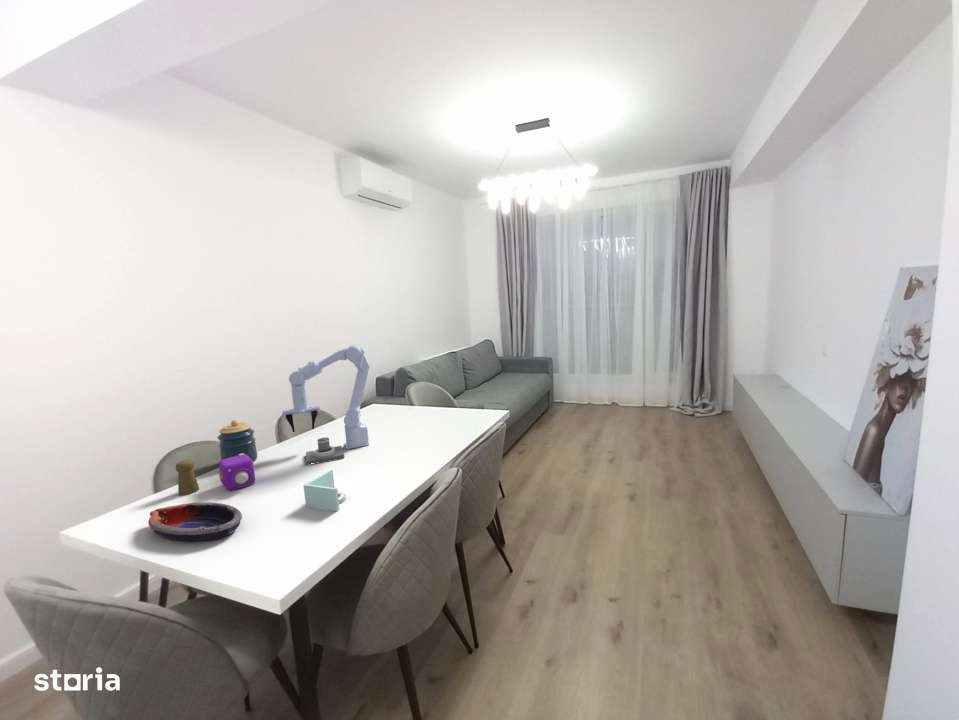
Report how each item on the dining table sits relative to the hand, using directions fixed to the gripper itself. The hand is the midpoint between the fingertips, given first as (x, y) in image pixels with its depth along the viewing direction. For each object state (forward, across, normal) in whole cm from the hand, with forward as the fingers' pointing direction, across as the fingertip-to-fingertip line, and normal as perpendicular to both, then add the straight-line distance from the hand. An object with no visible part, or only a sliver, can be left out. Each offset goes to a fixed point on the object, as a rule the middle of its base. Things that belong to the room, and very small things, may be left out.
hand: (303, 429), depth 176 cm
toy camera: (+10, -22, -26) cm, 35 cm away
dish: (+10, -30, -53) cm, 62 cm away
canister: (+10, -25, +1) cm, 27 cm away
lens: (+8, +7, -12) cm, 16 cm away
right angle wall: (+10, +7, -55) cm, 56 cm away
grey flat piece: (+9, +7, -12) cm, 17 cm away
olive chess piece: (+10, -38, -22) cm, 45 cm away
